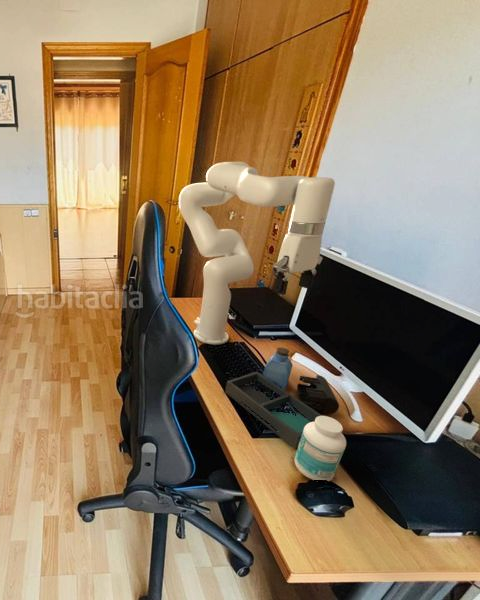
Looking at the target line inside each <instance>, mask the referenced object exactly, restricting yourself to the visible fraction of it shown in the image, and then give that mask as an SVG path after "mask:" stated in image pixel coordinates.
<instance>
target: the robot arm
mask: <svg viewBox="0 0 480 600" xmlns="http://www.w3.org/2000/svg"><path fill="white" fill-rule="evenodd" d="M205 178H206V179H205V180H206V182H196V183H191V184H188V185H186V186H185V187H184V188H182V189H181V190H180V194H179V197H178V207H179V211H180V215H181V216H182V218H183V220H184V222H185V223H186V224H187V226H188V228H189V231H190V233H191V236H192V238H193V241H194V243H195V246H196V248H197V250H198V252H199V254H200V255H201V256H202V257H204V258H212V259H210V260H208V261H207V262H206V263H205V265H204V266H203V269H202V275H203V290H202V302H201V308H200V315H199V316H197V317H196V319H195V320H193V324H194V325H196V328H195V329H194V331H193V336H194V338H195V339H196V340H198V341H199V342H201V343H203V344H208V345H215V346H216V345H217V346H219V345H223V344H226V343H227V342H228V341H229V338H230V337H229V334H228V333H227V332H226V328H227V324H228V323H227V322H228V317H229V312H230V305H231V299H232V293H231V291H230V288H229V284H232V283H237V282H242V281H246V280H248V279H250V278H251V277H252V275H253V274H254V268H255V267H254V262H253V260H252V257H251V255H250V253H249V250H248V249H247V246H246V244H245V242H244V240H243V237H242V236H241V234H240V233H239V232H238V231H237V230H235V229H232V228H222V229H219V228H218V227H217V226H216V224H215V222H214V219H213V217H212V216H211V215H210V214H209V213H208V212H207V211H205V210H204V209H203V207H205V208H206V207H215V206H220V205H223V204H225V203H226V202H228V201H229V200H230V199H232V198H233V197H234V196H235V195H236V196H237V197H238V199H239V200H240V201H242V202H244V203H247V204H250V205H254V206H257V207H261V208H262V207H263V208H273V207H282V206H283V207H284V206H293V207H292V211H291V215H290V221H289V226H288V231H287V233H286V234H285V236H284V238H283V241H282V243H281V246H280V250H279V253H278V257H277V262H275V263H274V264H273V265H272V270H273V275H274V279H275V281H274V287H273V292H274V293H276V294H279V295H282V296H285V295H286V294H287V290H288V285H289V280H288V279H289V278H290V276H291V275H292V274H297V273H300V278H299V282H298V287H300V288H304V289H306V290H310V289H311V288H312V285H313V281H314V277H315V275H316V274H317V270H318V269H319V267H320V264H321V263H322V261H323V258H324V257H323V256H322V255H320V254H321V248H322V241H323V234H324V231H325V226H326V222H327V218H328V214H329V210H330V206H331V202H332V199H333V198H332V197H333V193H334V189H335V185H336V182H335V180H334V178H332V177H324V176H316V177H314V176H310V177H309V176H304V175H283V176H264V175H263V176H262V175H259V172H258V170H257V169H256V168H255V167H253V166H250V165H249V164H248V163H246V162H245V161H225V162H224V161H222V162H218V163H215V164H214V165H212V166H211V167H209V168H208V170H207V172H206V175H205ZM214 257H215V258H214ZM284 273H285V274H284Z"/></svg>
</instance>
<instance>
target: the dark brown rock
mask: <svg viewBox="0 0 480 600" xmlns="http://www.w3.org/2000/svg"><path fill="white" fill-rule="evenodd" d="M299 381H301V382H302V383H300V382H299V383H297V386H296V391H295V394H296V396H297V399H298V400H300V401H301V402H303V403H304V404H306V405H307V406H309V407H310V408H312V409H313V410H315V411H316V412H318V413H319V414H321V415H322V416H330V415H334V414H335V413H337V412H338V411H339V409H340V403H339V401H338V399H337V397H336V395H335V394H334V392H333V390H332V388H331V386H330V384H329V382H328V380H327V379H326V378H325V377H324V376H322V375H320V374H316V376H315V377H312V376H307V375H306V376H305V375H299Z"/></svg>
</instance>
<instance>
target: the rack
mask: <svg viewBox="0 0 480 600" xmlns="http://www.w3.org/2000/svg"><path fill="white" fill-rule="evenodd" d="M255 379H256V380H258V381H259V382H261V383H262V384H263V385H265V386H266V387H268V388H270V389H271V390H273V391H274V392H276V393H277V394H279V395H280V396H281V397H278V398H275V399H273V400H270V398H268V397H267V396H266V394H264V393H263V392H260V390H259V391H256V389H257V388H256V389H255V388H252V386H251V385H245V386H242V387H239V388H238V386H241V385H243V384H245V383H248V382H250V381H253V380H255ZM224 393H225V394H227V395H228V396H229V397H230V398H231V399H233V400H234V401H235V402H236V403H237V404H239V405H240V406H241V407H242V408H244V409H245V410H246V411H247V412H249V413H250V414H251V415H252V416H253V417H255V419H257V420H258V421H259V422H261V424H263V425H264V426H266V428H268V429H269V430H270V431H272V432H273V434H275V435H276V436H278V437H279V438H280V439H281V440H283V441H284V443H286V444H287V445H289V446H290V447H291V448H292V449H293V450H297V449H298V446H299V442H300V439H301V436H302V433H303V430H304V427H305V426H306V425H307V424H308V423H310V422H315V419H316V417H318V416H322V415H321V414H319V413H318V412H316V411H315V410H313V409H312V408H310V407H309V406H307V405H306V404H304V403H303V402H301V401H300V400H299V399H298V397H296V396H294V395H293V394H291V393H289V391H286V389H285V390H283V389H282V388H280V387H279V386H278V385H276V384H275V383H273V382H272V381H270V380H269V379H267V378H266V377H264V376H263V374H261V373H260V372H258V371H255V372H250V373H248V374H246V375H242V376H240V377H239V376H238V377H236V378H232V379H229V380H227V381H226V385H225V392H224ZM241 402H242V403H241ZM285 402H289V403H290V404H291V405H293V407H295V408H296V409H297V410H298V411H299V412H300V413H301V414H303V415H304V416H305V417H306V418H305V417H304V416H303V415H301V414H300V413H298V412H297V414H298V415H297V414H296V416H295V413H294V415H293V414H292V413H289V414H288V413H283V412H276V411H275V410H272V411H268V410H270V409H273V408H275V407H278V406H280V405H282V404H283V403H285ZM244 404H245V405H246V406H247V407H246V406H245V405H244ZM248 407H249V408H250V409H251V410H252V411H254V412H255V413H256V414H257V415H259V416H260V417H261V418H263V419H264V420H266V421H267V422H268V423H270V424H271V425H272V426H273V427H274V428H275V429H276V430H277V431H279V433H278V432H277V431H276V430H275V429H274V428H272V427H271V426H270V425H269V424H267V423H266V422H265V421H264V420H262V419H261V418H260V417H259V416H257V415H256V414H255V413H254V412H252V411H251V410H250V409H249V408H248ZM276 410H277V409H276Z"/></svg>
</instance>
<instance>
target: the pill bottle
mask: <svg viewBox="0 0 480 600" xmlns="http://www.w3.org/2000/svg"><path fill="white" fill-rule="evenodd" d="M343 430H344V428H343V425H342V424H341V422H339V420H336V419H335V418H333V417H331V416H328V415H324V416H318V417H316V419H315V422H310V423H308V424H307V425H306V426H305V427H304V430H303V433H302V436H301V439H300V442H299V446H298V448H296V453H295V455H294V459H293V460H294V464H295V467H296V469H297V470H298V471H299V472H300V473H301V474H302V475H303V476H305V477H306V478H308V479H310V480H312V481H314V480H327V481H328V482H330V481H332V480H333V478H335V475H336V473H337V470H338V467H339V464H340V462H341V459H342V457H343V454H344V452H345V450H346V447H347V439H346V437H345V436H344V434H343Z"/></svg>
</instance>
